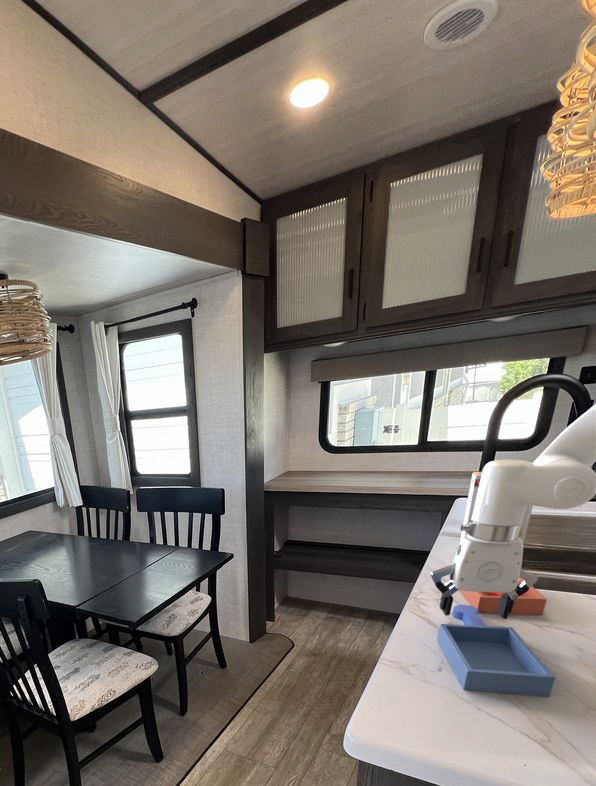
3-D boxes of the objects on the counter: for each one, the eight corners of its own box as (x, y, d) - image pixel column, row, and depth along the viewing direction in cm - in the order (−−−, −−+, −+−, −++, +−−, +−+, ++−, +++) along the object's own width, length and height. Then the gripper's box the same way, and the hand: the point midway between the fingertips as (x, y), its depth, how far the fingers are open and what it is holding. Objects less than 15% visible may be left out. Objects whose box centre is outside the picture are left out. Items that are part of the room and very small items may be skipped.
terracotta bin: (510, 584, 110) (513, 569, 108) (542, 615, 95) (547, 599, 94) (453, 582, 113) (456, 568, 112) (476, 612, 99) (480, 597, 97)
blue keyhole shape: (492, 636, 90) (494, 627, 89) (465, 635, 91) (467, 626, 90) (473, 611, 99) (475, 602, 98) (449, 610, 100) (451, 602, 100)
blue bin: (507, 644, 87) (512, 627, 85) (549, 697, 72) (555, 677, 71) (436, 640, 90) (440, 623, 89) (463, 689, 76) (467, 671, 74)
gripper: (445, 535, 84) (428, 619, 91) (561, 537, 79) (533, 626, 87) (435, 524, 91) (419, 603, 98) (541, 525, 86) (516, 608, 93)
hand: (473, 614), depth 92 cm, fingers open, 9 cm apart
